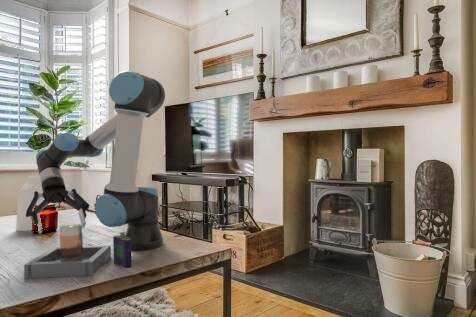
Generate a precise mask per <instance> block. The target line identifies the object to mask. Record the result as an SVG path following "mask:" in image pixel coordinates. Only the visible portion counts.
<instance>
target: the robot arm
mask: <svg viewBox="0 0 476 317" xmlns="http://www.w3.org/2000/svg"><path fill="white" fill-rule="evenodd" d="M108 94H109V97H110V99H111V100H112V102H114V107H113V110H114V111H115V112H116V114H115V115H113V116H112V117H110V118H109V119H108V120H107V121H105V122H104V123H103V124H102V125H101V126H99V127H97V129H95V130H94V131H93V132H92V133H90V134H89V135H88V136H86V137H85V138H79V137H78V136H76V135H75V134H74V133H72V132H69V131H63V132H60V133H59V134H58V136H56V138H55V139H54V140H53V142H52V143H51V144H50V146H49V147H48V148H43V149H41V150H39V151H38V152H37V153H36V156H35V158H36V160H35V164H36V166H37V171H38V174H39V175H38V176H40V180H41V184H42V190H43V193H38V192H37V191H35V192H34V198H33V200H32V201H31V203H30V205H29V207H28V209H27V211H26V217H29V216H31V217H32V219H33V223H34V225H36V224H37V226H38V231H37V232H38V234H42V233H43V230H42V229H43V228H42V223H41V218H40V212H41V211H42V210H43V209H44V208H45V207H46V206H47V205H48V204H49V203H53V204H61V203H64V204H66V205H69V206H70V207H71V208H73V209H75V210H77V212H78V213H77V214H78V217H79V220H80V224H82V229H83V228H85V227H86V224H87V221H86V218H87V211H89V208H90V204H89V203H88V202H87V201H86V199H84V198H83V197H82V196H81V195H80V194H79V193H78V192H77V190H76V189H75V188H72V189H71V190H68V189H67V188H66V184H65V180H64V177H63V176H64V175H63V173H62V169H61V166H62V165H63V163H64V162H66V160H67V159H68V158H81V157H82V158H94V157H99V156H101V155H102V154H103V151H104V148H106V146H108V145H109V144H110V143H112V142H113V141H114V145H113V152H112V162H111V168H110V178H109V182H108V183H107V184H105V185H104V190H103V194H102V195H100V196H98V198H97V199H96V201H95V202H94V212H95V213H94V214H95V215H96V218H97V219H98V220H99V223H101V224H102V225H103V226H106V227H108V228H115V227H116V228H117V227H122V226H124V225H127V229H126V231H125V232H126V233H125V235H126V237H129V238H130V239H131V251H145V250H152V249H156V248H159V247H161V246H163V244H164V238H163V234H162V232H161V228H160V225H159V190H158V189H157V188H156V187H150V186H149V187H148V186H137V185H136V180H137V172H138V165H139V157H140V148H141V142H142V141H141V140H142V135H143V134H142V132H143V125H144V119H145V118H150V117H152V116H153V115H154V114H155V113H157V112H158V111H159V110H160V109H161V108H162V107H163V105H164V103H165V101H166V100H165V99H166V91H165V89H164V87H163V85H162V84H161V82H159V81H158V80H156V79H155V78H151V77H149V76H147V75H143V74H141V73H139V72H135V71H130V70H123V71H121V72H118V73H117V74H116V75H114V77H113V78H112V79H111V81H110V83H109V87H108ZM40 197H43V198H44V200H43V201H42V203H41V204H40V205H39V206H38V207H37V208H36V209H35V210H34V211H32V210H33V209H34V207H35V205H36V203H37V200H39V199H40Z"/></svg>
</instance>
